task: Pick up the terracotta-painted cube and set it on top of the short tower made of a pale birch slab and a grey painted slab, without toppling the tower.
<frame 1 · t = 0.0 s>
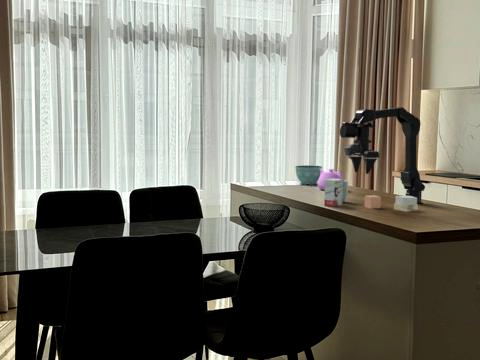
hand: (361, 173, 249), 15 cm above the table, fingers open, 9 cm apart
cube: (372, 207, 246), on the table
tower top: (406, 203, 240), point 3 cm above the table
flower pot: (308, 184, 338), on the table
cup: (338, 202, 262), on the table
ink box: (333, 205, 251), on the table
tower base: (405, 210, 240), on the table
teapot: (329, 190, 309), on the table
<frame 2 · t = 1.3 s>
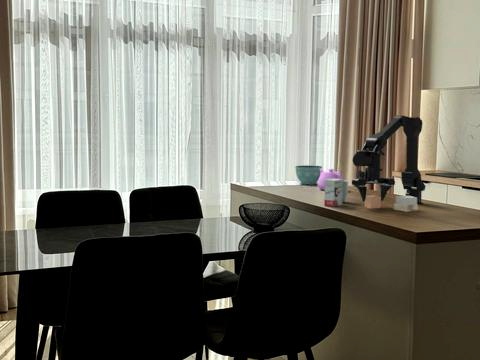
hand: (372, 201, 246), 3 cm above the table, fingers open, 9 cm apart
tower top: (406, 203, 240), point 3 cm above the table, touching tower base
tower base: (405, 210, 240), on the table, touching tower top
everything else where it was.
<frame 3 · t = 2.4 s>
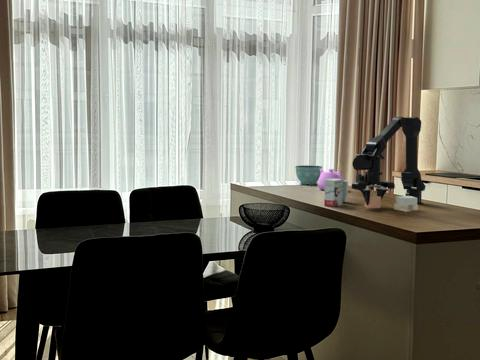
hand: (372, 204, 246), 1 cm above the table, fingers closed on cube, 5 cm apart
cube: (372, 207, 246), on the table, touching gripper
everything else where it was.
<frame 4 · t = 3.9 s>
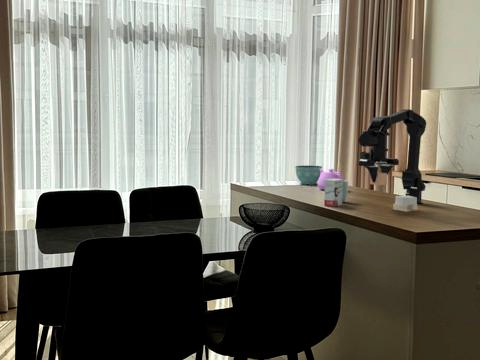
hand: (378, 182, 244), 11 cm above the table, fingers closed on cube, 5 cm apart
cube: (378, 184, 244), point 10 cm above the table, touching gripper
everything else where it was.
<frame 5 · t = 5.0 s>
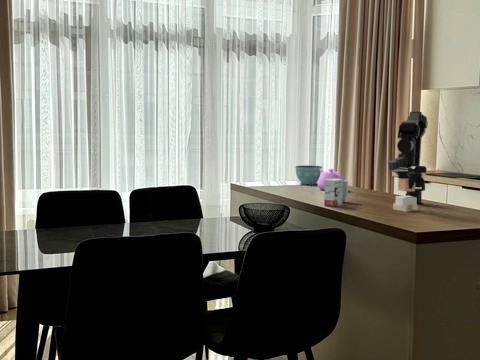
hand: (406, 188, 239), 9 cm above the table, fingers closed on cube, 5 cm apart
cube: (406, 190, 239), point 8 cm above the table, touching gripper
everything else where it was.
when the fingers open (8 cm above the table, at t = 5.9 s): cube drops 2 cm, resting on tower top.
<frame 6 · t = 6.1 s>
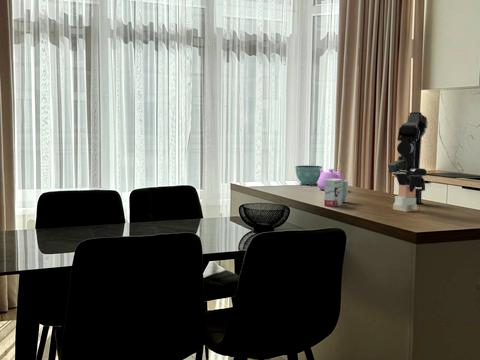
hand: (406, 190, 239), 8 cm above the table, fingers open, 6 cm apart
cube: (406, 197, 239), point 5 cm above the table, touching tower top
tower top: (405, 204, 240), point 2 cm above the table, touching cube, tower base
everything else where it was.
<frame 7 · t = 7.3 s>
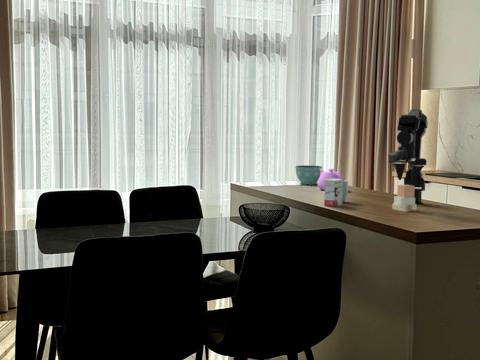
hand: (406, 180, 239), 12 cm above the table, fingers open, 9 cm apart
nothing on the table moved.
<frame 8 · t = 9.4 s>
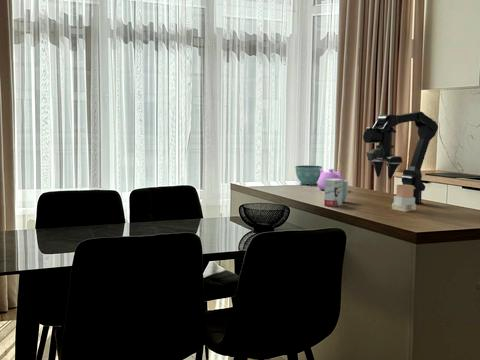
hand: (383, 177, 251), 13 cm above the table, fingers open, 9 cm apart
cube: (404, 196, 240), point 6 cm above the table
tower top: (404, 203, 240), point 3 cm above the table, touching tower base
everything else where it was.
at the end: cube 0.2 cm off-centre on the tower base, point 6.0 cm above the tower base's base; cube tilted 0°; tower top tilted 0° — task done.
